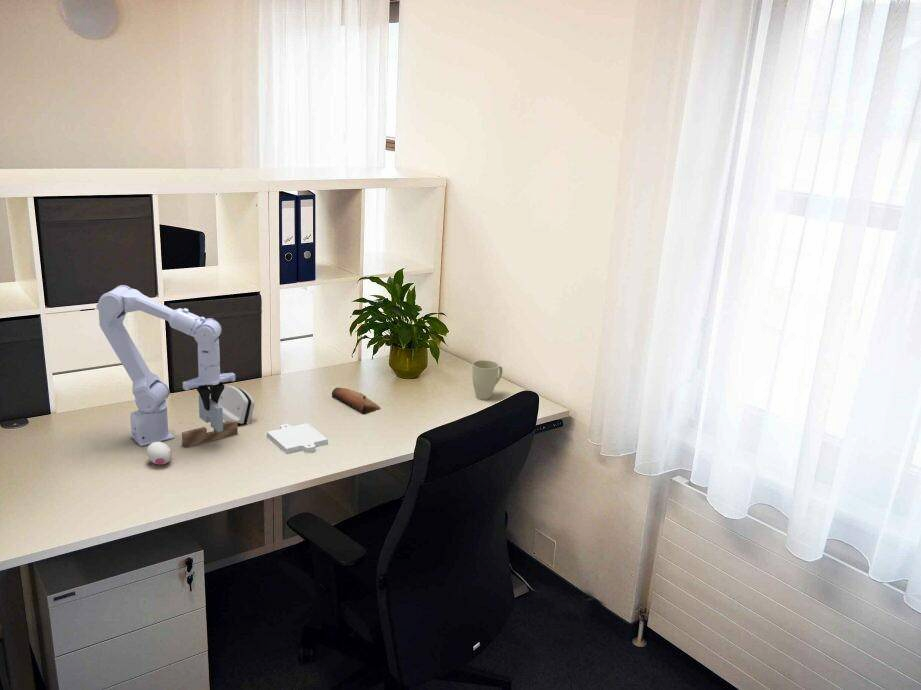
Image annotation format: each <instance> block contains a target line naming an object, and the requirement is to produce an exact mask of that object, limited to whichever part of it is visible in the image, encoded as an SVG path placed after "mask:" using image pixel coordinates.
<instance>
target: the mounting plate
mask: <svg viewBox="0 0 921 690" xmlns="http://www.w3.org/2000/svg"><path fill="white" fill-rule="evenodd" d="M266 437H267V438H268V439H269V440H270V441H272V443H274V444H275V445H276V446H277V447H278V448H279V449H281V451H283V452H284V454H286V455H288V454H293V453H296V452H300V451H303V452H305V453H307V454H309V453H314V452H316V448H317V447H320V446H324V445H328V444H329V439H328V438H327V437H326V436H324V435H323V434H322V433H321V432H320V431H318V430H317V429H316V428H314V427H313V426H312V425H310V424H309V423H308V422H306V423H302V424H298V425H297V424H296V425H291V424H290V423H284V424H281V425H279V429H274V430H269V431H267V432H266Z"/></svg>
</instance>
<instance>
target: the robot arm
mask: <svg viewBox="0 0 921 690" xmlns="http://www.w3.org/2000/svg"><path fill="white" fill-rule="evenodd" d="M98 299H99V300H98V302H97V304H96V309H97V310H98V320H99V327H100V329H101V331H102V332H103V334H104V336H105V338H106V339H107V341H108V342H109V344H110V346H111V348H112V349H113V351H114V353H115V354H116V357H117V358H118V360H119V362H120V363H121V365H122V367H123V368H124V370H125V371H126V373H127V375H128V376H129V378H130V380H131V382H132V388H131V389H132V390H131V391H132V394H133V396H134V399H135V400H134V401H135V405H136V408H137V410H135V411H133V412H132V411H131V412H130V437H131V438H132V439H133V440H134V441H135V442H136V443H137V444H138V445H139V446H147V445H150V444H151V443H153V442H164V441H168V440H172V439H175V437H174V435H173V434H172V433H171V432H169V421H168V418H169V417H168V405H167V402H166V401H167V399H168V398H169V396H170V388H169V386H168V385H167V383H165V382H164V381H162V380H161V378H160V376H159V375H158V374H156V373H153V372H152V371H151V370H150V369H149V366H148V365H147V363H146V360H145V359H144V357H143V356H142V354H141V352H140V350H139V349H138V348H137V347H138V346H136V344H135V343H134V341H133V339H132V337H131V336H130V334H129V332H128V330H127V329H126V327H125V325H124V320H125V318H126V315H127V313H133V312H138V311H141V312H143V313H146V314H148V315H152V316H154V317H156V318H159V319H161V320H164V321H167V322H168V323H169V327H170V328H172V329H174V330H176V331H179V332H181V333H183V334H186V335H188V336H190V337H193V339H194V340H195V342H196V343H197V365H198V368H197V369H198V370H197V371H198V376H197V377H195V378H192V379H189V380H185V381H183V382H182V389H183V390H184V391H190V390H191V389H195V390H197V393H198V395H200V396H201V399H202V402H203V405H204V409H206V410H207V411H209V410H210V399H211V400H213V401H214V402H215V403H217V404H218V401H219V398H220V395H221V393H222V391H223V390H224V386H225V384H223V383H226V382H235V381H236V374H235V373H234V372H227V373H224V372H223V373H221V356H220V352H221V351H220V338H219V337H220V335H222V325H221V324H220V323H219V321H217V320H216V319H215V318H213V317H212V318H211V317H210V318H205V317H204V316H199V315H197V314H195V313H192V312H190V311H189V309H188V308H186V307H185V308H180V307H179V308H177V309H176V308H175V309H173V308H170V307H168V306H167V305H164V304H163V303H161V302H159V301H157V300H155V299H153V298H151V297H149V296H147V295H144V294H143V293H142V292H141V291H139V290H138V289H135V288H131V287H130V286H128V285H125V284H121V285H117V286H116V287H115V288H113V289H112V290H110V291H108V292H106V293H103V294H102V295H100V298H98Z"/></svg>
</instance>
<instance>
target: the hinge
mask: <svg viewBox="0 0 921 690" xmlns="http://www.w3.org/2000/svg"><path fill="white" fill-rule="evenodd" d="M255 404H256V403H255V400H254V399H253V397H252V395H251V394H250V393H248V391H246V390H245V389H243V388H240V387H239V386H238V387H237V386H233V385H224V390H223V391H222V393H221V395H220V398H219V401H218V405H220V406H221V407H222V410H223V421H224V422H227V421H231V420H236V421H237V425H238V424H241V425H242V424H244V423H245V424H246V425H250V424H251V421H252V416H253V413H254V409H255Z"/></svg>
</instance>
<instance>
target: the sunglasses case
mask: <svg viewBox="0 0 921 690" xmlns="http://www.w3.org/2000/svg"><path fill="white" fill-rule="evenodd" d="M331 396H332V398H335V399H337V400H339V401H341V402H343V403H345V404H346V405H349V406H351V407H352V408H354V409H355V410H357V411H359V412H360V413H362V414H363V415H366V414H370V413H373V412H377V411H379V409H380V410H382V408H381V407H380V406H379V405H378V404H377V403H375V402H374V401H373V400H371V399H369V398H368V397H367V396H366V395H364V393H361V392H358V391H356V390H353V389H349V388H344V387H335V388H334V389H332V392H331ZM376 410H377V411H376Z"/></svg>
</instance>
